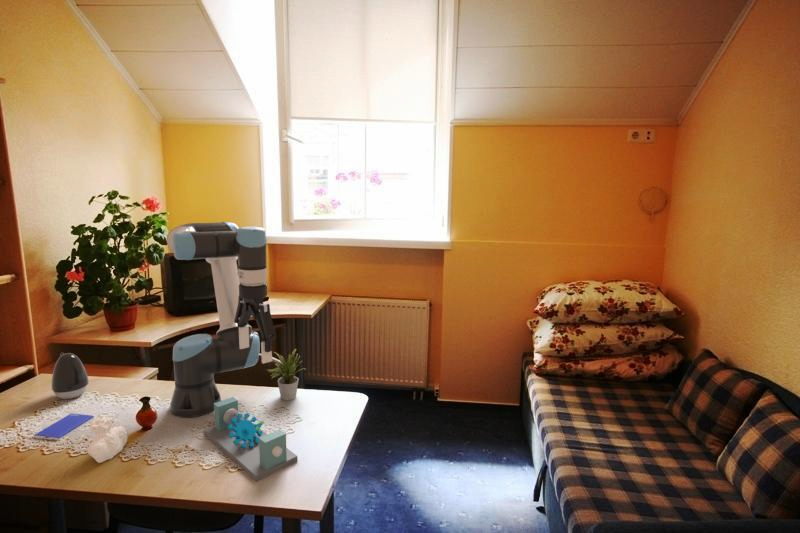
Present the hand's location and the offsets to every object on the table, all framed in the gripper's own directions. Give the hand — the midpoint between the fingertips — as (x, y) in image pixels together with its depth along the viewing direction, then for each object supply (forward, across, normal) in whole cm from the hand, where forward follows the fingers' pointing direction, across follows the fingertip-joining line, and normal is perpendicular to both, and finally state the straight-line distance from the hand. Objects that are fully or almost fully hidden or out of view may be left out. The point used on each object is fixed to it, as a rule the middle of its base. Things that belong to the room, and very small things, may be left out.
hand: (255, 354), depth 129 cm
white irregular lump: (+25, -17, -35) cm, 46 cm away
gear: (+23, +5, -6) cm, 24 cm away
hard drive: (+26, -41, -41) cm, 63 cm away
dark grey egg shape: (+26, -64, -36) cm, 78 cm away
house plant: (+25, -15, +19) cm, 35 cm away
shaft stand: (+24, +6, -6) cm, 26 cm away
